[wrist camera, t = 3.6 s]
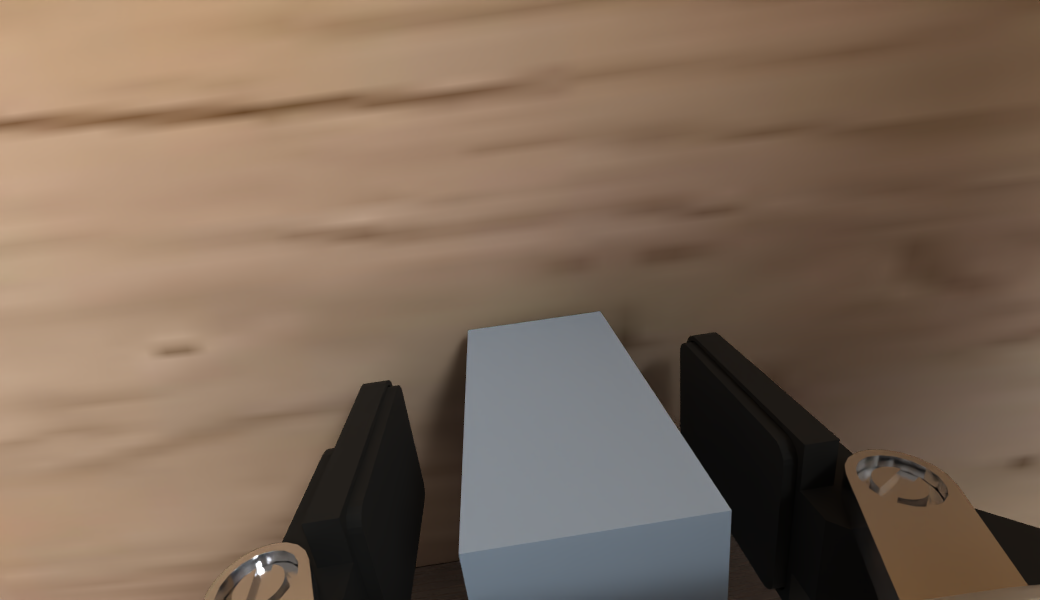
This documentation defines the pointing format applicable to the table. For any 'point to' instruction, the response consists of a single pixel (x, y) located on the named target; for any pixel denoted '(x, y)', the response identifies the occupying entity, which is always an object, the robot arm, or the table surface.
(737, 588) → the dark grey box
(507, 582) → the blue-grey banded block
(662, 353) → the table surface
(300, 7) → the table surface
